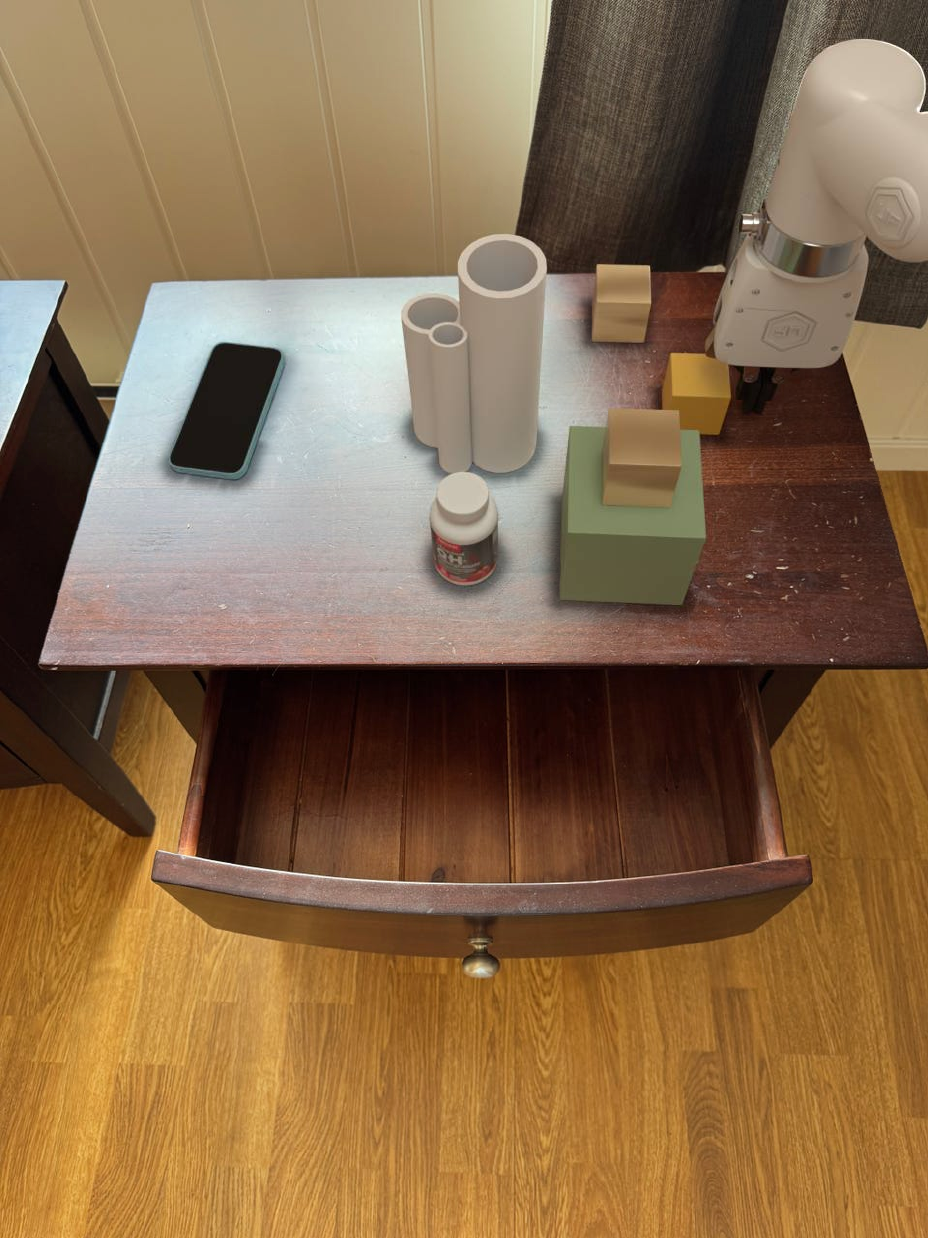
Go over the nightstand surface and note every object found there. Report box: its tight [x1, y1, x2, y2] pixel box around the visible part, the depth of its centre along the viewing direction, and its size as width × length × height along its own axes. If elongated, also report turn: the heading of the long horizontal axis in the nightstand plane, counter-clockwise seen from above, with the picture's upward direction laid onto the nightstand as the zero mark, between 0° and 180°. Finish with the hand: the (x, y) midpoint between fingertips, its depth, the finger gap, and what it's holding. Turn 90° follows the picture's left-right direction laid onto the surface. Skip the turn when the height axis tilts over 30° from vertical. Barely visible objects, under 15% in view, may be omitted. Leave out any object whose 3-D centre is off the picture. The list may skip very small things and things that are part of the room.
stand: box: [558, 425, 707, 606], centre depth 75 cm, size 10×10×10 cm
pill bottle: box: [429, 471, 499, 586], centre depth 75 cm, size 5×5×10 cm
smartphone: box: [168, 341, 286, 480], centre depth 87 cm, size 7×1×15 cm
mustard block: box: [661, 352, 732, 436], centre depth 84 cm, size 5×5×5 cm
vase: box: [400, 233, 548, 474], centre depth 76 cm, size 11×7×20 cm, turn 83°
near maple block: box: [602, 407, 682, 508], centre depth 68 cm, size 5×5×5 cm
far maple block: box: [591, 263, 652, 344], centre depth 89 cm, size 5×5×5 cm
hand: (750, 402), depth 84 cm, fingers closed
